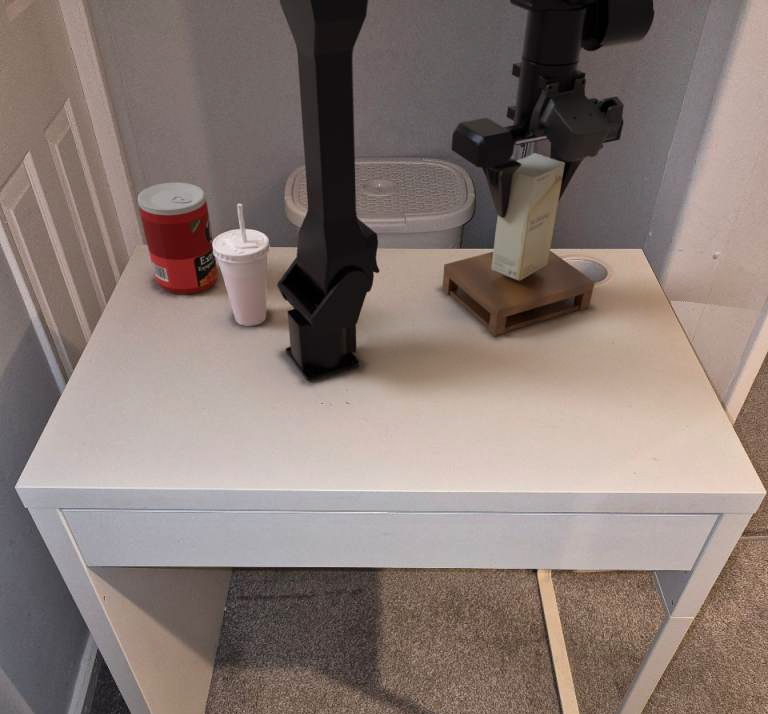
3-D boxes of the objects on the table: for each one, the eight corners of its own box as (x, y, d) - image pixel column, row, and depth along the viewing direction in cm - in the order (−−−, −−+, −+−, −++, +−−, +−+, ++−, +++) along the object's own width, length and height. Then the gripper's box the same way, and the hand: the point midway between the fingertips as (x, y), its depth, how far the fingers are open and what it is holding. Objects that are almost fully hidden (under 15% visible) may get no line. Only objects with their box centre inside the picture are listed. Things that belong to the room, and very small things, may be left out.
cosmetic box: (519, 283, 90) (535, 178, 81) (488, 270, 92) (501, 167, 83) (549, 264, 93) (567, 161, 84) (519, 252, 95) (534, 151, 86)
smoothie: (254, 338, 89) (239, 222, 79) (212, 321, 91) (192, 207, 81) (287, 313, 93) (277, 199, 82) (246, 298, 95) (231, 185, 85)
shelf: (494, 336, 89) (498, 310, 87) (442, 289, 97) (444, 264, 94) (589, 307, 94) (594, 282, 92) (532, 265, 101) (536, 240, 99)
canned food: (213, 296, 95) (198, 210, 87) (149, 295, 95) (129, 209, 87) (223, 265, 100) (210, 182, 93) (163, 264, 101) (145, 181, 93)
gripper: (520, 95, 68) (499, 258, 79) (677, 67, 74) (637, 222, 85) (454, 60, 75) (443, 215, 86) (603, 38, 81) (575, 185, 92)
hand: (527, 210), depth 87 cm, fingers closed on cosmetic box, 7 cm apart
